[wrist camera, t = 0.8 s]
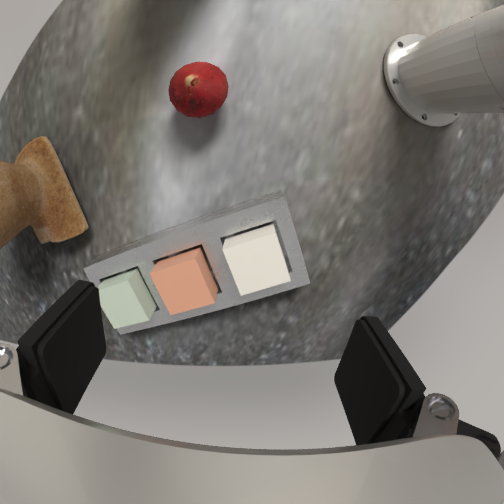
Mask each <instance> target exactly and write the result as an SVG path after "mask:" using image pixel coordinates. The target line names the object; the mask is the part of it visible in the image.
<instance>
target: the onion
mask: <svg viewBox="0 0 504 504" xmlns="http://www.w3.org/2000/svg"><path fill="white" fill-rule="evenodd" d="M227 93H228V82H227V78H226V75H225V74H224V73H223V72H222V71H221V70H220V68H219V67H217V66H215V65H212V64H210V63H208V62H194V63H191V64H187V65H185V66H183V67H182V68H180V69H179V70H178V71H176V73H175V74H174V76H173V77H172V79H171V81H170V86H169V96H170V101H171V102H172V104H173V105H174V107H175V108H176V109H177V110H178V111H179V112H181V113H182V114H184V115H186V116H188V117H198V118H200V117H204V116H207V115H210V114H213V113H214V112H215V111H216V110H217V109H219V108H220V107H221V106H222V104H223V103H224V101H225V99H226V97H227Z"/></svg>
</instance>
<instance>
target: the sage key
mask: <svg viewBox="0 0 504 504" xmlns="http://www.w3.org/2000/svg"><path fill="white" fill-rule="evenodd" d="M97 288H98V289H99V296H100V305H101V307H102V309H103V311H104V312H105V314H106V316H107V317H108V319H109V321H110V322H111V324H112V326H113V327H114V329H116V328H121V327H125V326H129V325H133V324H137V323H141V322H145V321H149V320H150V318H151V316H152V314H153V313H154V311H155V309H156V307H157V306H156V304H155V302H154V301H153V299H152V297H151V295H150V293H149V291H148V289H147V287H146V285H145V283H144V281H143V279H142V277H141V275H140V273H139V271H138V269H135V270H132V271H129V272H126V273H123V274H121V275H118V276H115V277H112V278H109V279H106V280H104V281H103V282H102V283H101V284H100V285H99V286H98V287H97Z"/></svg>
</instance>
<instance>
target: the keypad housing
mask: <svg viewBox="0 0 504 504" xmlns="http://www.w3.org/2000/svg"><path fill="white" fill-rule="evenodd" d="M271 224H274V227H275V230H276V233H277V236H278V239H279V243H280V246H281V249H282V252H283V255H284V258H285V261H286V265H287V268H288V272H289V275H290V279H291V281H289V282H286V283H282V284H279V285H276V286H272V287H269V288H266V289H262V290H259V291H256V292H252V293H249V294H245V295H242V296H241V295H240V293H239V290H238V288H237V285H236V283H235V280H234V278H233V275H232V273H231V270H230V268H229V265H228V263H227V260H226V258H225V255H224V253H223V250H222V249H223V245H224V242H225V239H227V238H231V237H234V236H237V235H240V234H243V233H246V232H249V231H252V230H255V229H259V228H262V227H265V226H268V225H271ZM197 248H201V251H202V253H203V255H204V258H205V260H206V263H207V265H208V267H209V270H210V272H211V274H212V277H213V279H214V281H215V284H216V286H217V288H218V292H217V296H216V301H215V303H214V304H211V305H207V306H203V307H200V308H196V309H192V310H188V311H185V312H181V313H177V314H173V315H170V313H169V311H168V309H167V307H166V305H165V304H164V302H163V300H162V298H161V296H160V294H159V292H158V290H157V288H156V286H155V284H154V282H153V280H152V278H151V276H150V274H149V273H150V272H151V270H152V269H153V268H154V266H155V265H156V264H157V262H159V261H162V260H165V259H168V258H170V257H173V256H176V255H179V254H182V253H185V252H188V251H191V250H194V249H197ZM83 269H84V271H85V273H86V275H87V277H88V279H89V281H90V282H93V283H94V284H95V287H98V286H99V285H100V284H101V283H102V282H103V281H104V280H106V279H109V278H112V277H115V276H118V275H121V274H123V273H126V272H129V271H132V270H135V269H138V271H139V273H140V275H141V277H142V279H143V281H144V283H145V285H146V287H147V289H148V291H149V293H150V295H151V297H152V299H153V301H154V302H155V304H156V306H157V307H156V309H155V311H154V313H153V314H152V316H151V318H150V320H149V321H145V322H141V323H137V324H133V325H129V326H125V327H121V328H117V330H118V332H119V333H120V334H125V333H129V332H134V331H138V330H142V329H146V328H151V327H155V326H159V325H163V324H167V323H171V322H175V321H179V320H183V319H187V318H191V317H195V316H199V315H202V314H206V313H210V312H214V311H217V310H221V309H225V308H228V307H232V306H236V305H239V304H243V303H246V302H250V301H253V300H257V299H260V298H264V297H267V296H270V295H274V294H277V293H281V292H284V291H287V290H290V289H294V288H297V287H300V286H304V285H307V284H310V280H309V277H308V273H307V270H306V266H305V262H304V259H303V255H302V252H301V248H300V245H299V242H298V238H297V235H296V231H295V228H294V225H293V221H292V218H291V215H290V212H289V208H288V205H287V202H286V199H285V196H284V194H283V193H282V191H281V190H279V191H276V192H272V193H269V194H266V195H263V196H260V197H257V198H254V199H251V200H248V201H245V202H242V203H239V204H236V205H233V206H230V207H227V208H224V209H221V210H218V211H215V212H212V213H209V214H206V215H204V216H201V217H198V218H195V219H192V220H190V221H187V222H184V223H181V224H179V225H176V226H173V227H170V228H168V229H165V230H162V231H160V232H157V233H154V234H152V235H149V236H146V237H144V238H141V239H139V240H136V241H133V242H131V243H128V244H126V245H123V246H121V247H118V248H116V249H113V250H111V251H108V252H106V253H103V254H101V255H99V256H97V257H96V258H95V259H94V260H92V261H91V262H90V263H89V264H88V265H87V266H85V267H84V268H83Z"/></svg>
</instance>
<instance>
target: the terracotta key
mask: <svg viewBox="0 0 504 504" xmlns="http://www.w3.org/2000/svg"><path fill="white" fill-rule="evenodd" d="M149 274H150V276H151V278H152V280H153V282H154V284H155V286H156V288H157V290H158V292H159V294H160V296H161V298H162V300H163V302H164V304H165V305H166V307H167V309H168V311H169V313H170V315H173V314H177V313H181V312H185V311H188V310H192V309H196V308H200V307H203V306H207V305H211V304H214V303H215V301H216V296H217V292H218V288H217V286H216V284H215V281H214V279H213V277H212V274H211V272H210V270H209V267H208V265H207V263H206V260H205V258H204V255H203V253H202V251H201V248H197V249H194V250H191V251H188V252H185V253H182V254H179V255H176V256H173V257H170V258H168V259H165V260H162V261H159V262H157V264H156V265H155V266H154V268H153V269H152V270H151V272H150V273H149Z"/></svg>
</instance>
